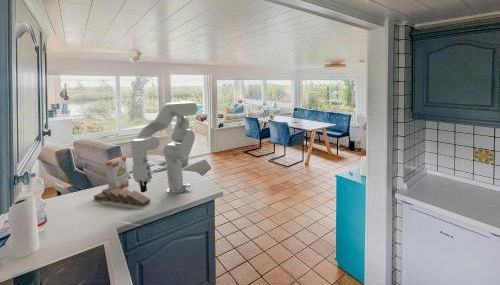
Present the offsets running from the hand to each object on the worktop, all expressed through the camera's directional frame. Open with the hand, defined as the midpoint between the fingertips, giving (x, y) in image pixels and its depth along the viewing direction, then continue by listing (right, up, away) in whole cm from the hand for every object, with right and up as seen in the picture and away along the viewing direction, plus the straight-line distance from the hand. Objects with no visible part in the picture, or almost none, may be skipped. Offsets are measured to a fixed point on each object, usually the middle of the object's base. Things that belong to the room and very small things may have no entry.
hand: (143, 191), depth 160 cm
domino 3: (-11, -6, +6) cm, 14 cm away
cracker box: (-29, -4, +32) cm, 43 cm away
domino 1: (-23, -6, +11) cm, 27 cm away
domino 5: (+1, -7, +1) cm, 7 cm away
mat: (-10, -8, +6) cm, 14 cm away
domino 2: (-17, -6, +9) cm, 20 cm away
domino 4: (-5, -7, +4) cm, 9 cm away
